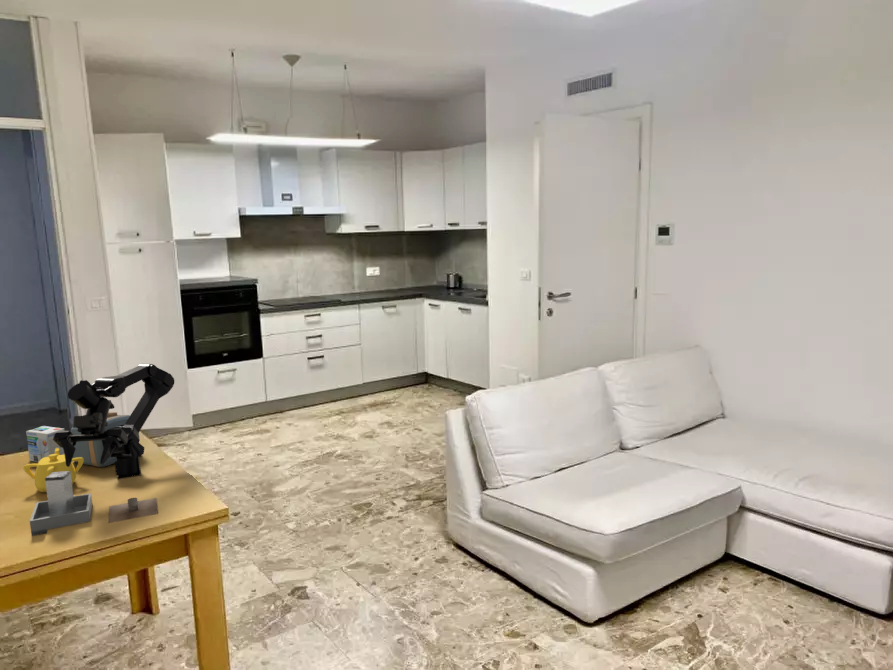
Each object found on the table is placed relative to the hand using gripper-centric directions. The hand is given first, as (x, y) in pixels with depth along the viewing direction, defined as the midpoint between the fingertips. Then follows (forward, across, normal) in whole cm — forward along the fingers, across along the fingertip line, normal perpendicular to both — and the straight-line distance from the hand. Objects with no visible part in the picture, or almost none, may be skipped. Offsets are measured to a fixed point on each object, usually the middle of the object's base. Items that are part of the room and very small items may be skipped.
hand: (84, 465), depth 185 cm
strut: (+15, -2, -1) cm, 15 cm away
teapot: (-2, -16, +19) cm, 25 cm away
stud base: (+15, +16, +1) cm, 21 cm away
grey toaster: (-19, -11, +37) cm, 43 cm away
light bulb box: (-21, -31, +38) cm, 53 cm away
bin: (+16, -2, 0) cm, 16 cm away
